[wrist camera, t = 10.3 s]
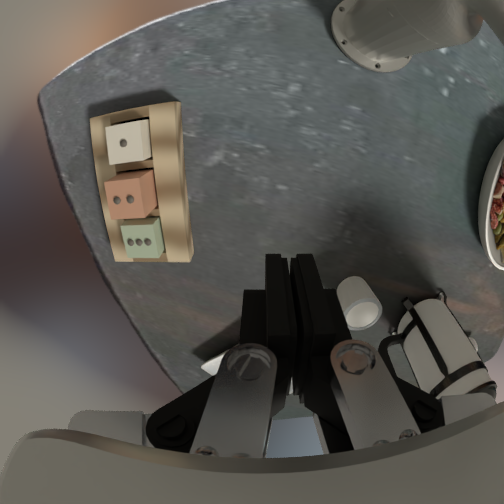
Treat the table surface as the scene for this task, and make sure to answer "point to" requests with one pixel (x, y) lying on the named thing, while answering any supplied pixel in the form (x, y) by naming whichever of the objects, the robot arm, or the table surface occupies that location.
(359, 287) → the shot glass
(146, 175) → the tan dice block
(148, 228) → the green dice block
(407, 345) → the coffee press
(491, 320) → the table surface
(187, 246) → the wooden dice block tray
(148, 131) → the white dice block
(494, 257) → the bowl
